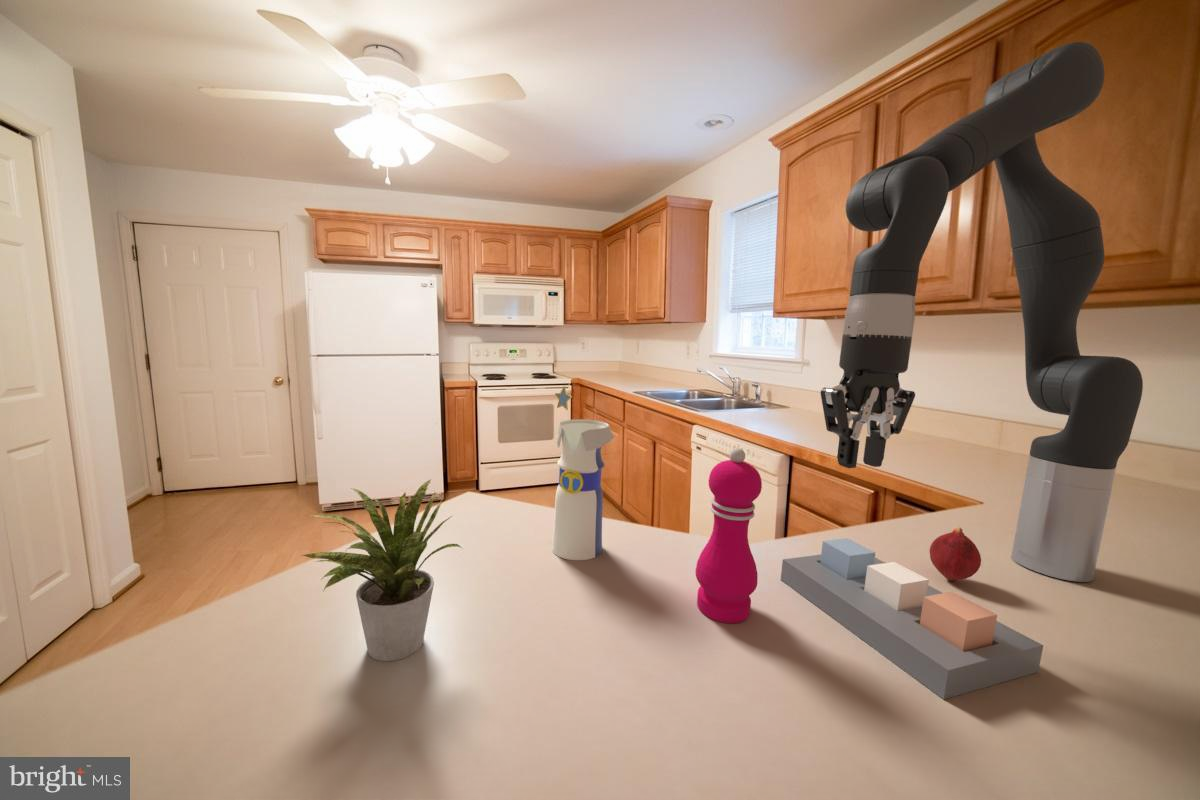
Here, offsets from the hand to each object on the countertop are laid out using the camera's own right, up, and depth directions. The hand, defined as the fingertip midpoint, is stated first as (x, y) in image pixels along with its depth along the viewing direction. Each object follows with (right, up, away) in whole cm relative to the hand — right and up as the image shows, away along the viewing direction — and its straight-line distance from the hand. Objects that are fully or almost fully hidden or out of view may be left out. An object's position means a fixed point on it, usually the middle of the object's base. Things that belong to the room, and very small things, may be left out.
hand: (859, 465), depth 59 cm
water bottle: (-37, -14, +10) cm, 41 cm away
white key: (+1, -16, -5) cm, 17 cm away
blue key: (-1, -15, +2) cm, 15 cm away
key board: (+1, -18, -4) cm, 19 cm away
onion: (+17, -18, +6) cm, 25 cm away
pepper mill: (-19, -17, -4) cm, 26 cm away
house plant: (-55, -16, -12) cm, 59 cm away
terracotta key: (+4, -17, -11) cm, 21 cm away
